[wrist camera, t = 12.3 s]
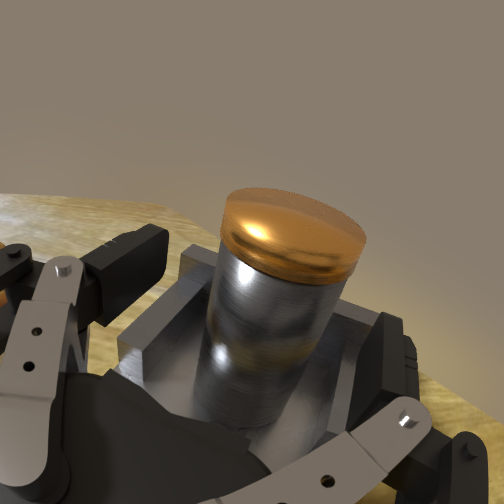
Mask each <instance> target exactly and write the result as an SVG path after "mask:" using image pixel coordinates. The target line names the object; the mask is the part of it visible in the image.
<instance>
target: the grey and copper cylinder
mask: <svg viewBox="0 0 504 504" xmlns="http://www.w3.org/2000/svg"><path fill="white" fill-rule="evenodd" d="M220 236H221V243H220V248H219V253H218V258H217V263H216V268H215V273H214V278H213V283H212V288H211V293H210V298H209V304H208V309H207V314H206V320H205V325H204V331H203V336H202V342H201V347H200V353H199V359H198V364H197V370H196V376H195V382H194V390H195V395H196V398H197V400H198V402H199V404H200V405H201V406H202V408H203V409H204V410H205V411H206V412H207V413H208V414H209V415H210V416H211V417H213V418H214V419H216V420H217V421H219V422H221V423H224V424H226V425H229V426H233V427H237V428H257V427H261V426H264V425H267V424H269V423H271V422H273V421H274V420H275V419H276V418H278V417H279V415H280V414H281V413H282V411H283V410H284V408H285V406H286V404H287V403H288V401H289V399H290V397H291V395H292V393H293V391H294V390H295V388H296V386H297V384H298V382H299V380H300V378H301V376H302V374H303V372H304V371H305V369H306V367H307V365H308V363H309V361H310V359H311V357H312V355H313V353H314V351H315V349H316V347H317V345H318V343H319V340H320V338H321V336H322V334H323V332H324V330H325V328H326V326H327V324H328V322H329V319H330V317H331V315H332V313H333V311H334V309H335V306H336V304H337V302H338V300H339V297H340V295H341V293H342V291H343V288H344V286H345V284H346V281H347V279H348V278H349V277H350V276H351V275H352V274H353V272H354V269H355V267H356V264H357V263H358V260H359V258H360V255H361V253H362V250H363V248H364V245H365V243H366V235H365V233H364V231H363V230H362V228H361V227H360V226H359V225H358V224H357V223H356V222H355V221H354V220H352V219H351V218H350V217H348V216H346V215H345V214H344V213H342V212H340V211H338V210H336V209H335V208H333V207H331V206H329V205H327V204H324V203H322V202H320V201H317V200H314V199H312V198H309V197H306V196H303V195H299V194H295V193H291V192H287V191H282V190H276V189H268V188H245V189H240V190H236V191H234V192H232V193H231V194H229V196H228V197H227V201H226V205H225V210H224V214H223V219H222V224H221V229H220Z"/></svg>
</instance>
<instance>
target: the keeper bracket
mask: <svg viewBox="0 0 504 504" xmlns="http://www.w3.org/2000/svg"><path fill="white" fill-rule="evenodd" d="M217 258H218V253H216V252H213V251H211V250H208V249H205V248H203V247H200V246H197V245H195V244H192V245H191V246H190V247H188V248H187V249H186V250H185V251H183V252H182V253H181V258H180V266H179V275H178V281H177V282H176V283H175V284H174V285H172V286H171V287H170V288H169V289H168V290H167V291H166V292H165V293H164V294H163V295H162V296H161V297H159V298H158V299H157V300H156V301H155V302H154V303H153V304H152V305H151V306H150V307H149V308H148V309H147V310H145V311H144V312H143V313H142V314H141V315H140V316H139V317H138V318H137V319H136V320H135V321H134V322H133V323H132V324H131V325H130V326H128V327H127V328H126V329H125V330H124V331H123V332H122V333H121V334H120V335H119V336H118V337H117V346H118V356H119V364H118V365H117V366H116V367H115V368H114V369H113V370H114V371H116V372H117V373H119V374H120V375H122V376H124V377H125V378H127V379H129V380H130V381H132V382H134V383H136V384H137V385H139V386H141V387H142V388H143V389H144V390H145V391H146V392H147V393H148V394H149V395H151V396H152V397H153V398H154V399H155V400H156V401H157V402H158V403H159V404H161V405H162V406H163V407H164V408H165V409H166V410H167V411H169V412H170V413H173V414H176V415H179V416H183V417H187V418H191V419H195V420H199V421H204V422H208V423H212V424H215V425H218V426H220V427H222V428H224V429H227V430H229V431H231V432H234V433H236V434H238V435H241V436H243V437H246V438H248V439H251V440H252V441H251V444H250V446H249V448H248V451H250V452H251V453H253V454H254V455H255V456H257V457H258V458H259V459H260V460H261V461H262V462H263V463H264V464H265V465H266V466H267V467H268V468H269V469H270V471H271V472H272V474H273V473H275V472H276V471H278V470H280V469H282V468H284V467H286V466H288V465H289V464H291V463H293V462H295V461H297V460H298V459H300V458H302V457H304V456H305V455H307V454H309V453H310V452H312V451H314V450H315V449H317V448H319V447H320V446H322V445H324V444H325V443H327V442H328V441H330V440H332V439H333V438H335V437H336V436H338V435H339V434H341V433H343V432H345V428H346V423H347V417H348V412H349V406H350V401H351V395H352V389H353V382H354V376H355V369H356V362H357V357H358V354H359V351H360V349H361V347H362V345H363V343H364V341H365V339H366V338H367V336H368V334H369V332H370V331H371V329H372V327H373V325H374V323H375V321H376V320H377V318H378V316H379V313H376V312H374V311H371V310H368V309H366V308H363V307H360V306H358V305H355V304H352V303H349V302H347V301H344V300H341V299H339V300H338V302H337V304H336V306H335V309H334V311H333V313H332V315H331V317H330V319H329V322H328V324H327V326H326V328H325V330H324V332H323V334H322V336H321V338H320V340H319V343H318V345H317V347H316V349H315V351H314V353H313V355H312V357H311V359H310V361H309V363H308V365H307V367H306V369H305V371H304V372H303V374H302V376H301V378H300V380H299V382H298V384H297V386H296V388H295V390H294V391H293V393H292V395H291V397H290V399H289V401H288V403H287V404H286V406H285V408H284V410H283V411H282V413H281V414H280V415H279V417H278V418H276V419H275V420H274V421H273V422H271V423H269V424H267V425H264V426H261V427H257V428H237V427H233V426H229V425H226V424H224V423H221V422H219V421H217V420H216V419H214V418H213V417H211V416H210V415H209V414H208V413H207V412H206V411H205V410H204V409H203V408H202V406H201V405H200V404H199V402H198V400H197V398H196V395H195V390H194V382H195V376H196V370H197V364H198V359H199V353H200V347H201V342H202V336H203V331H204V325H205V320H206V314H207V309H208V304H209V298H210V293H211V288H212V283H213V278H214V273H215V268H216V263H217Z"/></svg>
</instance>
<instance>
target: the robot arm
mask: <svg viewBox="0 0 504 504" xmlns="http://www.w3.org/2000/svg"><path fill="white" fill-rule="evenodd" d="M168 243H169V232H168V230H166V229H164V228H161V227H158V226H156V225H153V224H147V225H145V226H143V227H142V228H140V229H138V230H136V231H131V232H127V233H123V234H121V235H119V236H117V237H115V238H114V239H112V241H111V240H110V241H108V242H107V243H105V244H104V245H101V246H100V247H98V248H96V249H95V250H93V251H91V252H90V253H88V254H86V255H85V256H83V257H81V258H80V259H78V258H76V257H72V256H59V257H55V258H53V259H51V260H49V261H48V262H47V263H42V262H38V261H34V260H33V259H32V252H31V248H30V247H29V246H27V245H25V244H11V245H8V246H6V247H4V248H2V249H0V292H1V291H2V290H5V294H6V298H7V302H8V303H6V304H5V305H4V306H2V307H1V308H0V355H1V354H2V353H3V352H4V351H5V352H4V356H3V359H2V363H1V367H0V504H355V503H356V502H357V501H358V500H360V499H361V498H362V497H363V496H365V495H366V494H367V493H368V492H369V491H371V490H372V489H373V488H374V487H375V486H376V485H377V484H379V483H380V482H383V483H385V484H386V485H388V486H390V487H392V488H393V489H395V490H397V494H396V499H395V504H488V458H487V450H486V447H485V445H484V443H483V441H482V440H481V439H480V438H479V437H478V436H477V435H475V434H473V433H471V432H467V431H464V432H460V433H458V434H457V435H456V436H455V437H454V438H453V439H451V438H450V437H448V436H446V435H444V434H443V433H441V432H439V431H438V430H436V429H434V428H433V427H432V419H431V415H430V413H429V411H428V410H427V408H426V407H425V406H424V405H423V404H422V403H421V402H420V396H419V377H418V371H417V370H418V363H417V362H416V361H417V353H416V347H415V345H414V344H413V342H412V340H411V338H410V337H409V336H406V335H403V321H402V319H401V318H399V317H396V316H393V315H390V314H388V313H385V312H381V313H380V314H379V316H378V318H377V320H376V321H375V323H374V325H373V327H372V329H371V331H370V332H369V334H368V336H367V338H366V339H365V341H364V343H363V345H362V347H361V349H360V351H359V354H358V357H357V362H356V369H355V376H354V382H353V389H352V395H351V401H350V406H349V412H348V417H347V423H346V428H345V432H343V433H341V434H339V435H338V436H336V437H335V438H333V439H332V440H330V441H328V442H327V443H325V444H324V445H322V446H320V447H319V448H317V449H315V450H314V451H312V452H310V453H309V454H307V455H305V456H304V457H302V458H300V459H298V460H297V461H295V462H293V463H291V464H289V465H288V466H286V467H284V468H282V469H280V470H278V471H276V472H275V473H273V474H272V472H271V471H270V469H269V468H268V467H267V466H266V465H265V464H264V463H263V462H262V461H261V460H260V459H259V458H258V457H257V456H255V455H254V454H253V453H251V452H250V451H248V448H249V446H250V444H251V441H252V440H251V439H248V438H246V437H243V436H241V435H238V434H236V433H234V432H231V431H229V430H227V429H224V428H222V427H220V426H218V425H215V424H212V423H208V422H204V421H199V420H195V419H191V418H187V417H183V416H179V415H176V414H173V413H170V412H169V411H167V410H166V409H165V408H164V407H163V406H162V405H161V404H159V403H158V402H157V401H156V400H155V399H154V398H153V397H152V396H151V395H149V394H148V393H147V392H146V391H145V390H144V389H143V388H142V387H141V386H139V385H137V384H136V383H134V382H132V381H130V380H129V379H127V378H125V377H124V376H122V375H120V374H119V373H117V372H116V371H114V370H112V369H111V368H110V369H109V370H108V371H107V372H106V373H105V374H104V375H103V376H100V375H96V374H91V373H87V362H88V349H89V338H90V324H91V323H92V322H93V321H95V322H97V323H99V324H100V325H102V326H103V327H106V326H107V325H108V324H110V323H111V322H112V321H113V320H114V319H115V318H116V317H118V316H119V315H120V314H121V313H122V312H123V311H125V310H126V309H127V308H128V307H129V306H130V305H131V304H133V303H134V302H135V301H136V300H137V299H139V298H140V297H141V296H142V295H143V294H144V293H146V292H147V291H148V290H149V289H150V288H151V287H153V286H154V285H155V284H156V283H157V282H159V281H160V279H161V278H162V276H163V275H164V272H165V269H166V263H167V253H168Z"/></svg>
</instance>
